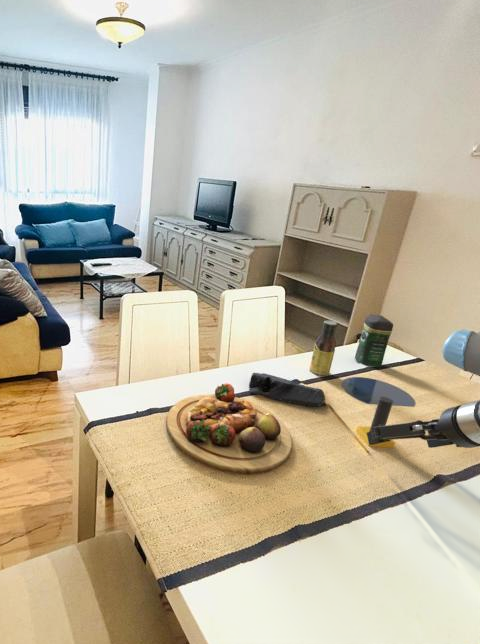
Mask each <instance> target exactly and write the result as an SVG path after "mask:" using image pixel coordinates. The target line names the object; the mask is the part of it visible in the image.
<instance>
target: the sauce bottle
mask: <svg viewBox="0 0 480 644" xmlns="http://www.w3.org/2000/svg"><path fill="white" fill-rule="evenodd" d="M337 327H338V323H337V322H336V321H334V320H324V321H323V323H322V330H321V334H319V336H318V337H317V339H316V340H315V342H314V347H313V351H312V355H311V360H310V361H311V362H310V364H309V372H310V373H312V374H313V375H315V376H319V377H327V376H329V374H330V371H331V368H332V364H333V360H334V356H335V351H336V346H337V341H336V338H335V332H336V329H337Z"/></svg>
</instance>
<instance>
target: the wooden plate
mask: <svg viewBox="0 0 480 644" xmlns="http://www.w3.org/2000/svg"><path fill="white" fill-rule="evenodd" d="M214 390H215V391H214V393H205V394H196V395H191V396H188V397H186V398H184V399H181V400H179V401H177V402H176V403H175V404H173V406H172V407H170V409H169V411H168V412H167V415H166V419H165V428H166V431H167V434H168V436H169V438H170V439H171V441H172V443H173V444H174V445H175V446H176V447H177V448H178V449H179V450H180V451H181V452H182V453H183V454H184V455H186V456H187V457H189V458H190V459H192V460H194V461H195V462H198V463H199V464H201V465H204V466H206V467H208V468H211V469H214V470H216V471H221V472H224V473H229V474H235V475H259V474H266V473H269V472H272V471H274V470H276V469H278V468H280V467H282V466H283V465H284V464H285V463H286V462H287V461H288V460H289V458H290V456H291V454H292V452H293V438H292V436H291V433H290V431H289V429H288V428H287V426H286V424H284V423H283V421H282V420H281V419H280V418H278V416H276V415H275V414H274V413H273V412H271V411H269V410H268V409H266V408H265V407H263V406H261V405H259V404H257V403H255V402H252V401H249V400H246V399H244V398H240V397H236V395H235V387H233V385H232V384H231V383H228V382H227V383H226V382H225V383H222V384H221V385H220V386H219V385H217V386H216V388H215V389H214Z"/></svg>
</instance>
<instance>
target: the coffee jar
mask: <svg viewBox="0 0 480 644" xmlns="http://www.w3.org/2000/svg"><path fill="white" fill-rule="evenodd" d="M393 328H394V323H393V322H392V321H390V320H389V319H388V318H386V317H385V316H383V315H381V314H380V315H379V314H373V313H372V314H369V315H367V316H366V317H365V319H364V322H363V327H362V331H361V334H360V339H359V342H358V345H357V348H356V352H355V354H354V360H355V361H356V362H357V363H358V364H361V365H363V366H367V367H374V368H381V367H382V365H383V362H384V358H385V354H386V350H387V347H388V344H389V343H388V342H389V340H390V337H391V335H392V333H393Z"/></svg>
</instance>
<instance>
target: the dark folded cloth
mask: <svg viewBox="0 0 480 644" xmlns="http://www.w3.org/2000/svg"><path fill="white" fill-rule="evenodd" d="M248 388H249V389H248V390H249V391H248V392H249V393H250V394H252V395H254V396H256V395H257V396H261V397H263V398H267V399H272V400H275V401H284V402H287V403H290V404H296V405H301V406H306V407H308V406H313V407H315V406H316V407H321V406H322V405H324V402H325V400H326V398H325V397H326V395H325V393H324V391H323V389H322V388H318V387H313V386H312V387H311V386H307V385H304V384H300V383H297V382H295V381H293V380H290V379H289V380H288V379H286V378H283V377H280V376H276V375H272V374H268V373H263V372H261V373H260V372H252V374H251V376H250V379H249V383H248ZM264 389H266V390H268V392H264Z"/></svg>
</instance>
